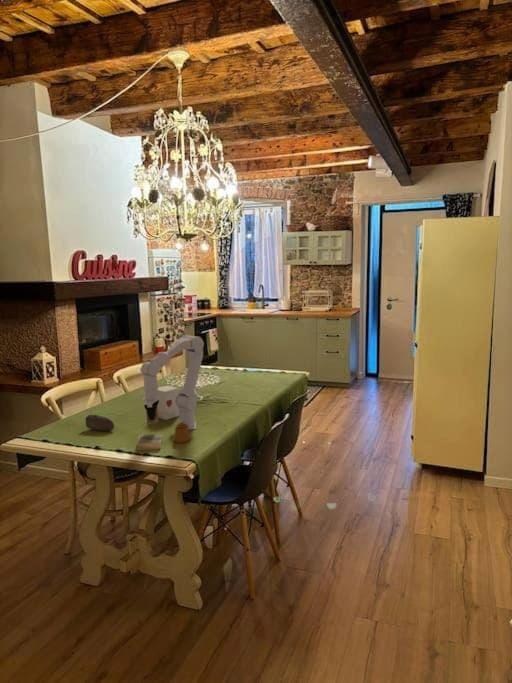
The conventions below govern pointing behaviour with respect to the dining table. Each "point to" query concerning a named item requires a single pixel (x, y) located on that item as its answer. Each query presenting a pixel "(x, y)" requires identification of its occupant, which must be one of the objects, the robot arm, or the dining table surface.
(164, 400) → the supplement box
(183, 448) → the dining table surface
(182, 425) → the ornamental finial
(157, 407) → the walnut block
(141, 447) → the wooden framed grey panel
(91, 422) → the perforated stone tool
